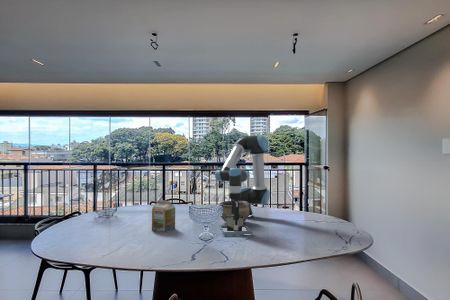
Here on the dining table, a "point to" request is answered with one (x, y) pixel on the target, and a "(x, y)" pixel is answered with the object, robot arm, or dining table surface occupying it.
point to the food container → (231, 222)
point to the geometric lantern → (105, 193)
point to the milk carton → (163, 216)
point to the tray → (235, 231)
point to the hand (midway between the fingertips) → (234, 228)
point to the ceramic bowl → (242, 209)
